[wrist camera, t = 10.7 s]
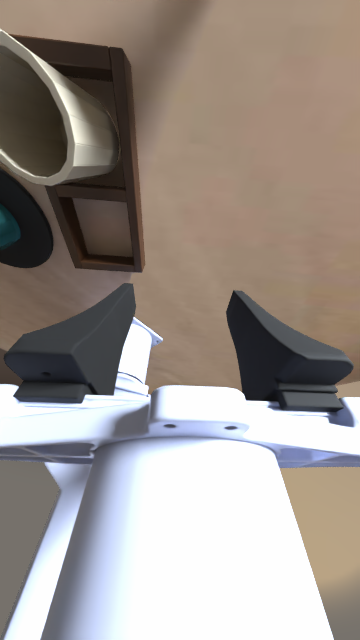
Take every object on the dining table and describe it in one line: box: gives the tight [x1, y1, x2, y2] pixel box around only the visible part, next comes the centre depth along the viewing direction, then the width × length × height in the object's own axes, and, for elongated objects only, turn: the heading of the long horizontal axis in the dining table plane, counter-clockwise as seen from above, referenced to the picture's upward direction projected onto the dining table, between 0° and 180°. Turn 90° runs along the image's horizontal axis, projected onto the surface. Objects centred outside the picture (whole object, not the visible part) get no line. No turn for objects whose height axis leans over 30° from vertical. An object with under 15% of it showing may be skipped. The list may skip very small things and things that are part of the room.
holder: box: [8, 34, 145, 273], centre depth 15 cm, size 7×14×2 cm, turn 176°
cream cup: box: [0, 29, 119, 186], centre depth 11 cm, size 4×4×8 cm
